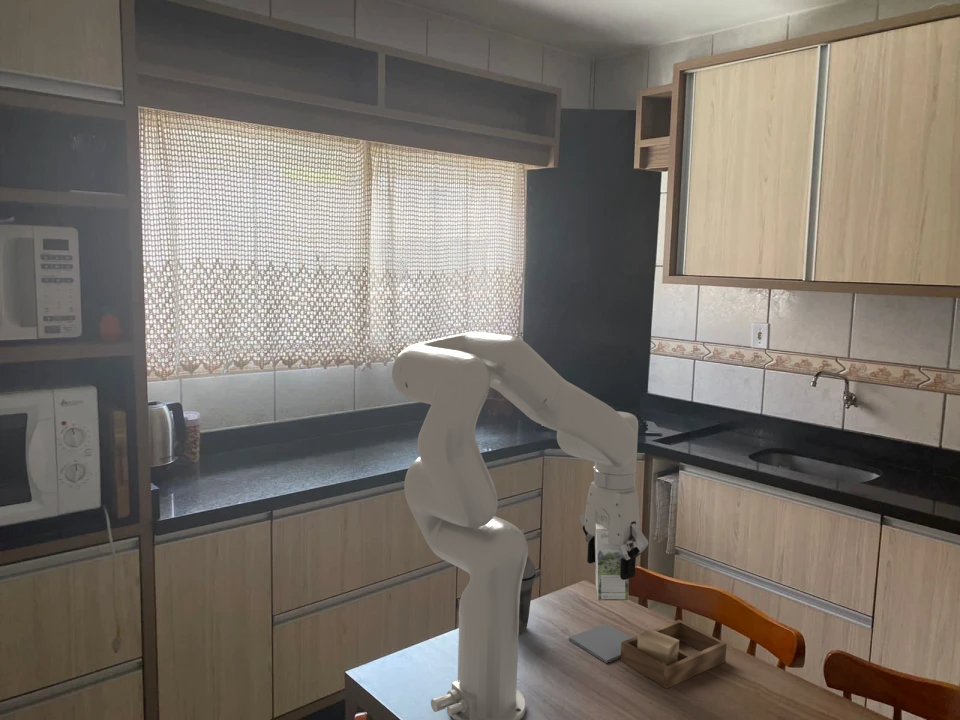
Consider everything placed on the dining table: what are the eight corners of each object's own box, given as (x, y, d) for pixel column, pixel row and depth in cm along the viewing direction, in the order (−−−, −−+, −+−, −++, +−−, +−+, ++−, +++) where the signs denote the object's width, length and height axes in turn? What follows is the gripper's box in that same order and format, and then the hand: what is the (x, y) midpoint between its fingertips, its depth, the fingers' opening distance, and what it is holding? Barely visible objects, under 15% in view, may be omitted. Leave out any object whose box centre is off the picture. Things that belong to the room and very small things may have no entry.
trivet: (606, 663, 134) (606, 660, 134) (568, 639, 142) (569, 637, 142) (644, 648, 140) (644, 645, 140) (606, 626, 148) (606, 623, 148)
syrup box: (625, 586, 143) (624, 515, 140) (629, 601, 137) (628, 527, 134) (595, 586, 143) (593, 515, 140) (597, 602, 137) (596, 528, 135)
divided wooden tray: (666, 688, 126) (667, 669, 126) (620, 660, 135) (621, 642, 135) (725, 661, 136) (726, 643, 135) (678, 636, 144) (679, 619, 144)
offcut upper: (667, 664, 129) (668, 648, 129) (637, 652, 133) (637, 636, 132) (678, 656, 132) (679, 640, 132) (647, 644, 136) (648, 628, 135)
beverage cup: (489, 627, 146) (491, 530, 143) (515, 616, 151) (518, 521, 148) (515, 642, 141) (518, 541, 138) (541, 630, 145) (545, 532, 143)
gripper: (567, 470, 141) (564, 558, 144) (635, 495, 127) (631, 591, 130) (596, 465, 146) (592, 550, 148) (665, 488, 132) (660, 581, 134)
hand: (610, 569), depth 139 cm, fingers closed on syrup box, 8 cm apart
